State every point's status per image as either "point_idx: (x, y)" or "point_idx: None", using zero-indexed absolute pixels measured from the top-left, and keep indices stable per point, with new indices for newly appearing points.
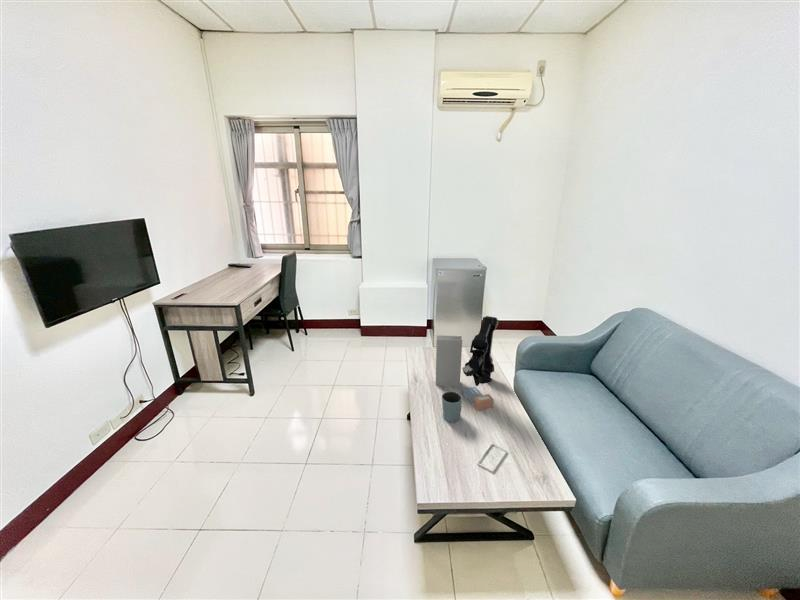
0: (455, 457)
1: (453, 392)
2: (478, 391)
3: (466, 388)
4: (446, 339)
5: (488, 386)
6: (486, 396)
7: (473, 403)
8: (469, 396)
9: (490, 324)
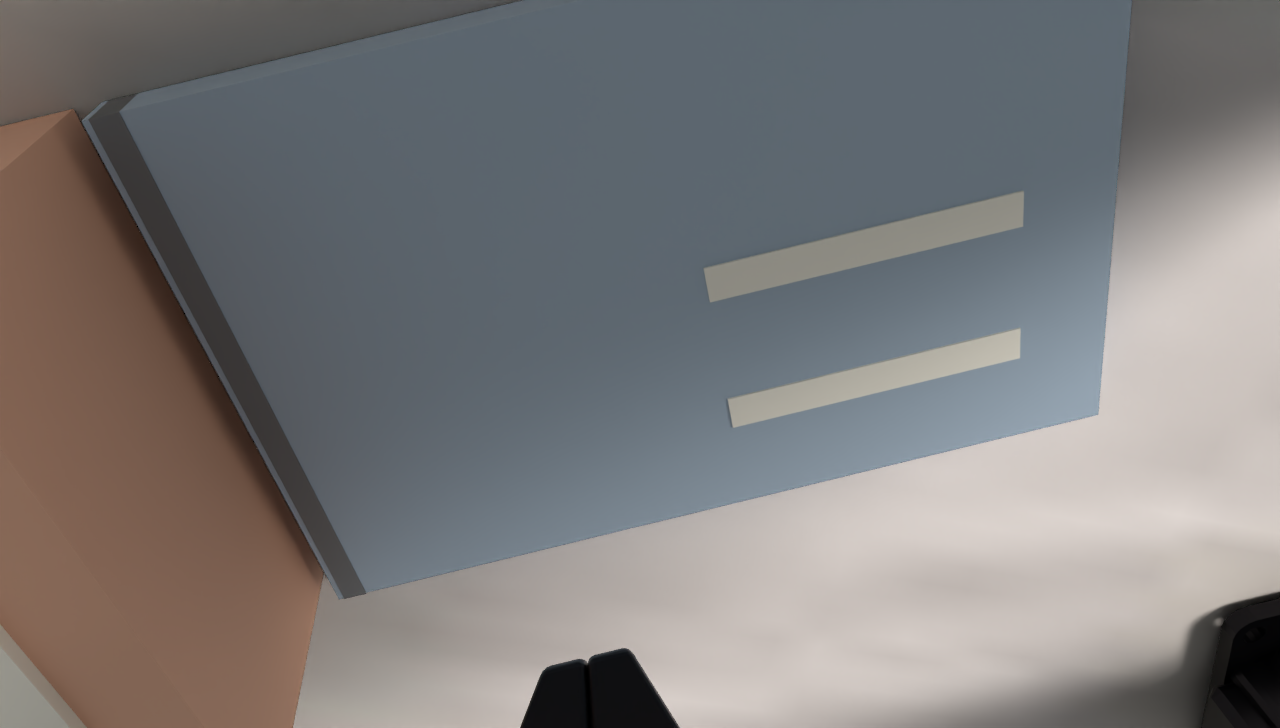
0: None
1: None
2: (819, 449)
3: (1102, 105)
4: None
5: (1010, 675)
6: None
7: (28, 138)
8: (567, 93)
9: None
